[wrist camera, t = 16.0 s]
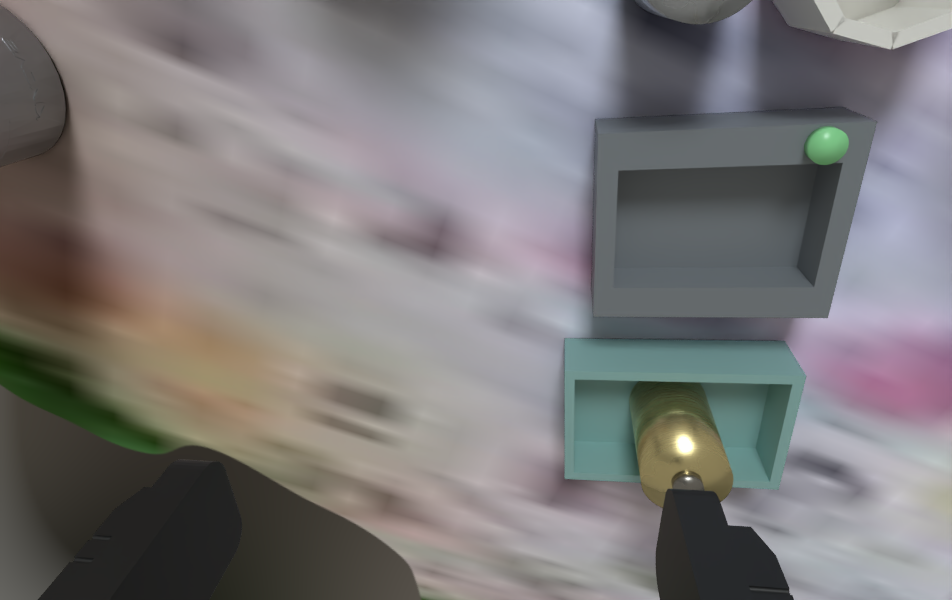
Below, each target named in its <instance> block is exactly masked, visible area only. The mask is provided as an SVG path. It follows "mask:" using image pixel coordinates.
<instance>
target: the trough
mask: <svg viewBox="0 0 952 600" xmlns="http://www.w3.org/2000/svg"><path fill="white" fill-rule="evenodd" d="M805 379H806V375H805V373H804V372H803V370H802V368H801V367H800V365H799V363H798V362H797V360H796V359H795V357H794V355H793V354H792V352H791V351H790V349H789V347H788V346H787V344H786V342H785V341H752V340H665V339H577V338H565V479H578V480H598V481H617V482H637V483H641V479H640V472H639V466H638V459H637V452H636V446H635V439H634V432H633V426H632V419H631V412H630V405H629V397H630V393H631V391H632V389H633V387H634V386H635V385H636V384H637V383H638V382H639V381H662V382H699V383H700V384H701V385H702V387H703V389H704V391H705V394H706V397H707V400H708V403H709V406H710V408H711V411H712V414H713V417H714V420H715V423H716V426H717V429H718V432H719V435H720V438H721V441H722V444H723V446H724V449H725V452H726V455H727V458H728V461H729V464H730V467H731V470H732V473H733V479H734V480H733V486H732V487H737V488H757V489H776V490H778V489H779V485H780V481H781V477H782V473H783V469H784V465H785V461H786V457H787V453H788V449H789V444H790V440H791V436H792V432H793V428H794V424H795V420H796V416H797V412H798V408H799V404H800V399H801V395H802V391H803V387H804V383H805Z"/></svg>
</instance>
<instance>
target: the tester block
mask: <svg viewBox="0 0 952 600" xmlns="http://www.w3.org/2000/svg"><path fill="white" fill-rule="evenodd" d="M876 124H877V121H875V120H873V119H870V118H868V117H866V116H863V115H861V114H859V113H856V112H854V111H851V110H849V109H847V108H844V107H834V108H814V109H794V110H773V111H753V112H732V113H712V114H691V115H671V116H650V117H630V118H610V119H595V148H594V190H593V233H592V276H591V292H592V304H593V316H594V317H739V318H828V315H829V311H830V307H831V303H832V299H833V295H834V291H835V287H836V283H837V279H838V275H839V271H840V267H841V263H842V259H843V255H844V251H845V247H846V243H847V239H848V235H849V231H850V227H851V223H852V219H853V215H854V211H855V207H856V203H857V199H858V195H859V191H860V188H861V184H862V180H863V176H864V172H865V168H866V164H867V160H868V156H869V152H870V148H871V144H872V140H873V136H874V132H875V128H876Z"/></svg>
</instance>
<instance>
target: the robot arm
mask: <svg viewBox="0 0 952 600" xmlns="http://www.w3.org/2000/svg"><path fill="white" fill-rule="evenodd" d="M65 113H66V106H65V98H64V91H63V88H62V85H61V82H60V78H59V75H58V73H57V71H56V69H55V67H54V65H53V63H52V61H51V58H50V57H49V55H48V54H47V52H46V51H45V49H44V48H43V46H42V45H41V43H40V42H39V40H38V39H37V38H36V37H35V36H34V34H33V33H32V32H31V31H30V30H29V29H28V28H27V27H26V25H25V24H24V23H23V22H21V21H20V20H19V19H18V18H17V17H15V16H14V15H13V14H12V13H11V12H9V11H8V10H7V9H5V8H4V7H2V6H0V167H2V166H5V165H8V164H11V163H14V162H17V161H21V160H24V159H27V158H30V157H33V156H36V155H39V154H42V153H44V152H46V151H47V150H48V149H50V148H51V147H53V146H54V144H55V143H56V141H57V140H58V139H59V137H60V136H61V133H62V130H63V127H64V124H65ZM241 532H242V521H241V516H240V513H239V510H238V507H237V504H236V500H235V498H234V494H233V491H232V488H231V485H230V482H229V479H228V476H227V473H226V470H225V468H224V466H223V464H222V463H220V462H217V461H200V460H183V459H179V460H176V461H174V462H173V463H171V464H170V466H169V467H168V468H167V469H166V470H165V472H164V473H163V474H162V475H161V476H160V477H159V479H158V480H157V481H156V482H155V484H154V485H153V486H152V487H144V488H142V489H141V490H140V491H138V492H137V493H136V494H134V495H133V496H132V497H130V498H129V499H127V500H126V501H125V502H123V503H122V504H121V505H119V506H118V507H117V508H115V509H114V510H113V512H112V513H111V514H110V515H109V516H108V518H107V519H106V520H105V521H104V522H103V523H102V525H101V526H100V527H99V528H98V529H97V530H96V532H95V533H94V534H93V538H92V540H88V541H87V542H86V543H85V545H84V546H83V547H82V548H81V550H80V551H79V552H78V553H77V554H76V555H75V559H74V561H73V562H70V563H69V564H68V565H67V566H66V567H65V568H64V569H63V571H62V572H61V573H60V574H59V575H58V577H57V578H56V579H55V580H54V582H52V584H51V585H50V586H49V587H48V588H47V590H46V591H45V592H44V593H43V594H42V595H41V597H40V598H39V599H38V600H209V599H210V597H211V595H212V594H213V592H214V590H215V588H216V586H217V585H218V583H219V581H220V580H221V578H222V576H223V574H224V572H225V571H226V569H227V567H228V565H229V564H230V562H231V560H232V558H233V557H234V555H235V553H236V551H237V548H238V545H239V542H240V537H241ZM656 576H657V585H658V591H659V596H660V600H794V599H793V596H792V595H790V593H789V587H788V584H787V582H786V579H785V577H784V574H783V572H782V570H781V567H780V565H779V562H778V560H777V557H776V555H775V554H774V553H773V552H772V551H771V550H770V548H769V547H768V546H767V545H766V544H765V543H764V541H763V540H762V539H761V538H760V537H759V536H758V535H757V533H756V532H755V531H754V530H753V529H752V528H751V527H744V526H728V524H727V521H726V518H725V515H724V512H723V509H722V506H721V503H720V501H719V498H718V496H717V494H716V493H715V492H714V491H703V490H686V489H667V491H666V494H665V499H664V505H663V511H662V517H661V523H660V529H659V535H658V541H657V547H656Z"/></svg>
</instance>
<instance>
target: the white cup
mask: <svg viewBox="0 0 952 600" xmlns="http://www.w3.org/2000/svg"><path fill="white" fill-rule="evenodd" d="M772 1H773V3H774V5H775V7H776V8H777V9H778V11H779V12H780V14H781V15H782V16H783V18H784V19H785V21H786V23H787V25H790V27H793V28H797V29H801V30H804V31H808V32H811V33H815V34H819V35H822V36H826V37H829V38H833V39H836V40H842V41H847V42H852V43H858V44H863V45H869V46H874V47H880V48H885V49H895V48H898V47H901V46H904V45H907V44H909V43H912V42H915V41H918V40H921V39H923V38H926V37H929V36H932V35H935V34H938V33H940V32H943V31H946V30H949V29H952V0H772Z"/></svg>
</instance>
